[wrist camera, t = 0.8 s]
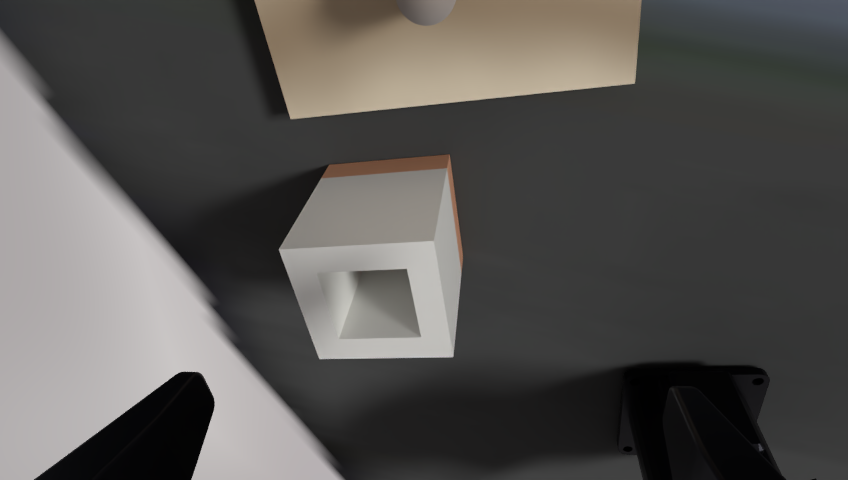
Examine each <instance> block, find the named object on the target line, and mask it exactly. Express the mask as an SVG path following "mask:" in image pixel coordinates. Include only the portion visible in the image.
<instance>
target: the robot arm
mask: <svg viewBox="0 0 848 480" xmlns="http://www.w3.org/2000/svg"><path fill="white" fill-rule="evenodd" d="M769 382H770V379H769V377H768V375H767V373H766V372H765V370H763V369H761V368H699V369H632V370H628V371H626V372H625V373H624V375H623V384H622V394H621V405H620V415H619V426H618V436H617V445H618V450H619V452H620V453H622V454H627V455H637V457H638V461H639V465H640V469H641V473H642V478H643V480H786V479H785V478H784V477H783V476H782V475H781V472H780V470H779V468H778V466H777V464H776V462H775V460H774V458H773V456H772V453H771V451H770V449H769V447H768V445H767V443H766V441H765V439H764V437H763V434H762V432H761V430H760V428H759V426H758V424H757V419H758V416H759V413H760V410H761V406H762V403H763V400H764V397H765V394H766V391H767V388H768V385H769ZM213 411H214V398H213V395H212V393H211V391H210V389H209V387H208V385H207V383H206V381H205V379H204V377H203V376H202V374H200V373H198V372H180V373H178V374H176V375H175V376H174V377H172V378H171V379H169V380H168V381H167V382H165V383H164V384H163V385H161V386H160V387H159V388H157V389H156V390H155V391H153V392H152V393H151V394H149V395H148V396H147V397H145V398H144V399H142V400H141V401H140V402H139V403H137V404H136V405H134V406H133V407H132V408H130V409H129V410H128V411H126V412H125V413H124V414H122V415H121V416H120V417H118V418H117V419H115V420H114V421H113V422H111V423H110V424H109V425H107V426H106V427H105V428H103V429H102V430H101V431H99V432H98V433H97V434H95V435H94V436H92V437H91V438H90V439H88V440H87V441H86V442H84V443H83V444H82V445H80V446H79V447H78V448H76V449H75V450H73V451H72V452H71V453H70V454H68V455H67V456H65V457H64V458H63V459H61V460H60V461H59V462H57V463H56V464H55V465H53V466H52V467H51V468H49V469H48V470H46V471H45V472H44V473H42V474H41V475H40V476H38V477H37V478H36V479H34V480H191V478H192V476H193V473H194V470H195V467H196V464H197V460H198V457H199V454H200V451H201V448H202V445H203V442H204V439H205V436H206V433H207V430H208V426H209V423H210V420H211V417H212V414H213ZM812 480H817V479H812Z"/></svg>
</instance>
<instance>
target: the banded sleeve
mask: <svg viewBox="0 0 848 480" xmlns="http://www.w3.org/2000/svg"><path fill="white" fill-rule="evenodd" d="M279 252H280V255H281V257H282V260H283V263H284V265H285V268H286V271H287V273H288V276H289V279H290V281H291V284H292V287H293V289H294V292H295V295H296V298H297V300H298V303H299V306H300V308H301V311H302V314H303V316H304V319H305V322H306V324H307V327H308V330H309V332H310V335H311V338H312V340H313V343H314V346H315V349H316V351H317V354H318V357H319V359H359V358H430V357H453V355H454V345H455V334H456V324H457V314H458V303H459V293H460V282H461V272H462V262H463V252H462V245H461V237H460V230H459V222H458V215H457V207H456V199H455V192H454V184H453V177H452V169H451V162H450V154H448V155H437V156H425V157H413V158H402V159H390V160H378V161H367V162H355V163H343V164H332V165H329V166H328V168H327V169H326V171H325V173H324V174H323V176H322V178H321V179H320V181H319V183H318V184H317V186H316V188H315V189H314V191H313V193H312V194H311V196H310V198H309V200H308V201H307V203H306V205H305V206H304V208H303V210H302V211H301V213H300V215H299V216H298V218H297V220H296V221H295V223H294V225H293V226H292V228H291V230H290V231H289V233H288V235H287V236H286V238H285V240H284V241H283V243H282V245H281V246H280V248H279Z"/></svg>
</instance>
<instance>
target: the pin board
mask: <svg viewBox="0 0 848 480" xmlns="http://www.w3.org/2000/svg"><path fill="white" fill-rule="evenodd" d="M255 4H256V7H257V10H258V14H259V17H260V20H261V23H262V27H263V30H264V33H265V37H266V40H267V43H268V46H269V50H270V53H271V56H272V59H273V63H274V66H275V69H276V73H277V76H278V79H279V82H280V86H281V89H282V92H283V96H284V99H285V102H286V105H287V109H288V112H289V115H290V119H298V118H308V117H317V116H327V115H337V114H346V113H356V112H365V111H375V110H385V109H394V108H404V107H414V106H423V105H433V104H442V103H452V102H462V101H471V100H481V99H490V98H500V97H510V96H519V95H529V94H539V93H548V92H558V91H567V90H577V89H587V88H596V87H606V86H615V85H625V84H635V76H636V64H637V51H638V38H639V25H640V12H641V0H255Z"/></svg>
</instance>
